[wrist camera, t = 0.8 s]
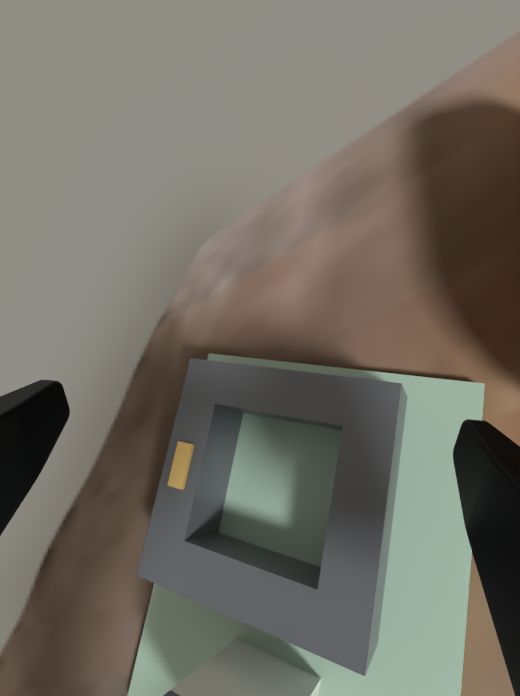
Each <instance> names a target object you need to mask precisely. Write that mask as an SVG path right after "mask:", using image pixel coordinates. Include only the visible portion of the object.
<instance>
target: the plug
mask: <svg viewBox="0 0 520 696" xmlns="http://www.w3.org/2000/svg"><path fill="white" fill-rule="evenodd" d="M320 682H321V678H320V677H318V676H315V675H313V674H311V673H309V672H307V671H305V670H303V669H300V668H298V667H296V666H294V665H292V664H290V663H288V662H285V661H283V660H281V659H279V658H277V657H275V656H273V655H270V654H268V653H266V652H264V651H262V650H260V649H258V648H255V647H253V646H251V645H249V644H247V643H245V642H243V641H240V640H238V639H235V640H234V641H232V642H231V643H230V644H228V645H227V646H226V647H225V648H223V649H222V650H221V651H220V652H218V653H217V654H216V655H214V656H213V657H212V658H211V659H209V660H208V661H207V662H205V663H204V664H203V665H202V666H200V667H199V668H198V669H197V670H195V671H194V672H193V673H191V674H190V675H189V676H188V677H186V678H185V679H184V680H182V681H181V682H180V683H179V684H177V685H176V686H175V687H174V688H172V689H171V690H170V691H168V692H167V693H166V694H165V695H163V696H319V689H320Z"/></svg>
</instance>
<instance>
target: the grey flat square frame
mask: <svg viewBox="0 0 520 696" xmlns="http://www.w3.org/2000/svg"><path fill="white" fill-rule="evenodd" d="M406 405H407V394H406V392H405V390H404V388H403V385H402V383H396V382H387V381H379V380H370V379H362V378H354V377H345V376H337V375H328V374H320V373H312V372H303V371H295V370H286V369H278V368H270V367H261V366H253V365H245V364H236V363H228V362H219V361H211V360H203V359H194V358H190V361H189V365H188V369H187V373H186V377H185V381H184V385H183V389H182V393H181V397H180V401H179V405H178V409H177V413H176V417H175V422H174V426H173V430H172V434H171V438H170V442H169V446H168V450H167V454H166V458H165V462H164V466H163V470H162V474H161V478H160V482H159V486H158V490H157V494H156V498H155V502H154V507H153V511H152V515H151V519H150V523H149V527H148V531H147V535H146V539H145V543H144V547H143V551H142V555H141V559H140V563H139V567H138V571H137V576H139V577H141V578H144V579H146V580H148V581H150V582H153V583H155V584H157V585H159V586H162V587H164V588H166V589H168V590H171V591H173V592H175V593H177V594H180V595H182V596H184V597H186V598H189V599H191V600H193V601H196V602H198V603H200V604H202V605H205V606H207V607H209V608H211V609H214V610H216V611H218V612H220V613H223V614H225V615H227V616H229V617H232V618H234V619H236V620H238V621H241V622H243V623H245V624H248V625H250V626H252V627H254V628H257V629H259V630H261V631H263V632H266V633H268V634H270V635H272V636H275V637H277V638H279V639H281V640H284V641H286V642H288V643H290V644H293V645H295V646H297V647H299V648H302V649H304V650H306V651H309V652H311V653H313V654H315V655H318V656H320V657H322V658H324V659H327V660H329V661H331V662H333V663H336V664H338V665H340V666H342V667H345V668H347V669H349V670H351V671H354V672H356V673H358V674H360V675H363V676H365V675H366V673H367V670H368V668H369V665H370V662H371V660H372V657H373V655H374V652H375V650H376V647H377V644H378V638H379V630H380V621H381V613H382V605H383V596H384V588H385V580H386V571H387V563H388V555H389V546H390V538H391V530H392V522H393V513H394V505H395V497H396V488H397V480H398V472H399V463H400V455H401V447H402V439H403V430H404V422H405V414H406ZM243 413H248V414H253V415H259V416H264V417H270V418H275V419H281V420H286V421H292V422H298V423H303V424H309V425H314V426H320V427H325V428H331V429H337V430H342V434H341V440H340V447H339V453H338V460H337V466H336V473H335V479H334V486H333V492H332V499H331V505H330V512H329V518H328V525H327V531H326V538H325V544H324V551H323V557H322V564H321V567H318V566H315V565H312V564H310V563H307V562H304V561H301V560H298V559H295V558H292V557H289V556H286V555H283V554H280V553H277V552H274V551H271V550H268V549H265V548H263V547H260V546H257V545H254V544H251V543H248V542H245V541H242V540H239V539H236V538H233V537H230V536H227V535H224V534H221V533H218V531H219V526H220V522H221V517H222V512H223V507H224V503H225V498H226V493H227V488H228V484H229V479H230V474H231V469H232V465H233V460H234V455H235V450H236V446H237V441H238V436H239V431H240V427H241V422H242V417H243Z"/></svg>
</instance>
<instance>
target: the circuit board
mask: <svg viewBox="0 0 520 696" xmlns="http://www.w3.org/2000/svg"><path fill="white" fill-rule="evenodd" d="M207 360H211V361H219V362H228V363H236V364H245V365H253V366H261V367H270V368H278V369H286V370H295V371H303V372H312V373H320V374H328V375H337V376H345V377H354V378H362V379H370V380H379V381H387V382H396V383H402V385H403V388H404V390H405V392H406V394H407V405H406V414H405V422H404V430H403V439H402V447H401V455H400V463H399V472H398V480H397V488H396V497H395V505H394V513H393V522H392V530H391V538H390V546H389V555H388V563H387V571H386V580H385V588H384V596H383V605H382V613H381V621H380V630H379V638H378V644H377V647H376V650H375V652H374V655H373V657H372V660H371V662H370V665H369V668H368V670H367V673H366V675H365V676H363V675H360V674H358V673H356V672H354V671H351V670H349V669H347V668H345V667H342V666H340V665H338V664H336V663H333V662H331V661H329V660H327V659H324V658H322V657H320V656H318V655H315V654H313V653H311V652H309V651H306V650H304V649H302V648H299V647H297V646H295V645H293V644H290V643H288V642H286V641H284V640H281V639H279V638H277V637H275V636H272V635H270V634H268V633H266V632H263V631H261V630H259V629H257V628H254V627H252V626H250V625H248V624H245V623H243V622H241V621H238V620H236V619H234V618H232V617H229V616H227V615H225V614H223V613H220V612H218V611H216V610H214V609H211V608H209V607H207V606H205V605H202V604H200V603H198V602H196V601H193V600H191V599H189V598H186V597H184V596H182V595H180V594H177V593H175V592H173V591H171V590H168V589H166V588H164V587H162V586H159V585H157V584H155V583H154V586H153V591H152V595H151V599H150V603H149V607H148V612H147V616H146V620H145V624H144V628H143V633H142V637H141V641H140V645H139V650H138V654H137V658H136V662H135V666H134V671H133V675H132V679H131V683H130V688H129V692H128V696H163V695H165V694H166V693H167V692H168V691H170V690H171V689H172V688H174V687H175V686H176V685H177V684H179V683H180V682H181V681H182V680H184V679H185V678H186V677H188V676H189V675H190V674H191V673H193V672H194V671H195V670H197V669H198V668H199V667H200V666H202V665H203V664H204V663H205V662H207V661H208V660H209V659H211V658H212V657H213V656H214V655H216V654H217V653H218V652H220V651H221V650H222V649H223V648H225V647H226V646H227V645H228V644H230V643H231V642H232V641H234V640H235V639H238V640H240V641H243V642H245V643H247V644H249V645H251V646H253V647H255V648H258V649H260V650H262V651H264V652H266V653H268V654H270V655H273V656H275V657H277V658H279V659H281V660H283V661H285V662H288V663H290V664H292V665H294V666H296V667H298V668H300V669H303V670H305V671H307V672H309V673H311V674H313V675H315V676H318V677H320V678H321V682H320V689H319V696H461V684H462V671H463V658H464V645H465V632H466V619H467V607H468V594H469V581H470V568H471V555H472V550H471V546H470V543H469V539H468V536H467V532H466V528H465V523H464V519H463V513H462V507H461V502H460V496H459V490H458V485H457V479H456V473H455V468H454V462H453V449H454V446H455V443H456V440H457V436H458V433H459V430H460V427H461V425H462V423H463V421H465V420H467V419H471V420H482V414H483V401H484V388H485V384H484V383H475V382H466V381H456V380H447V379H438V378H429V377H420V376H411V375H402V374H393V373H384V372H375V371H366V370H357V369H347V368H338V367H329V366H320V365H311V364H302V363H293V362H284V361H275V360H266V359H257V358H247V357H238V356H229V355H220V354H211V353H209V354H208V358H207ZM341 434H342V430H337V429H331V428H325V427H320V426H314V425H309V424H303V423H298V422H292V421H286V420H281V419H275V418H270V417H264V416H259V415H253V414H248V413H243V417H242V422H241V427H240V431H239V436H238V441H237V446H236V450H235V455H234V460H233V465H232V469H231V474H230V479H229V484H228V488H227V493H226V498H225V503H224V507H223V512H222V517H221V522H220V526H219V531H218V533H221V534H224V535H227V536H230V537H233V538H236V539H239V540H242V541H245V542H248V543H251V544H254V545H257V546H260V547H263V548H265V549H268V550H271V551H274V552H277V553H280V554H283V555H286V556H289V557H292V558H295V559H298V560H301V561H304V562H307V563H310V564H312V565H315V566H318V567H321V564H322V557H323V551H324V544H325V538H326V531H327V525H328V518H329V512H330V505H331V499H332V492H333V486H334V479H335V473H336V466H337V460H338V453H339V447H340V440H341Z"/></svg>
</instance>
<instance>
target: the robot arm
mask: <svg viewBox="0 0 520 696" xmlns="http://www.w3.org/2000/svg"><path fill="white" fill-rule="evenodd" d="M69 411H70V410H69V405H68V402H67V399H66V396H65V392H64V389H63V386H62V384H61V383H60V382H58V381H52V380H40V381H37V382H35V383H32V384H30V385H27V386H25V387H23V388H20V389H18V390H15V391H13V392H10V393H8V394H5V395H3V396H1V397H0V535H1V534H2V532H3V531H4V529H5V528H6V526H7V524H8V523H9V521H10V520H11V518H12V517H13V515H14V514H15V512H16V510H17V509H18V507H19V506H20V504H21V503H22V501H23V500H24V498H25V496H26V495H27V493H28V492H29V490H30V489H31V487H32V485H33V484H34V482H35V480H36V479H37V478H38V476H39V474H40V472H41V471H42V469H43V467H44V465H45V463H46V461H47V459H48V457H49V455H50V453H51V451H52V449H53V447H54V446H55V444H56V441H57V440H58V438H59V436H60V434H61V432H62V430H63V428H64V426H65V424H66V422H67V420H68V417H69V413H70V412H69ZM453 462H454V468H455V473H456V479H457V485H458V490H459V496H460V502H461V507H462V513H463V519H464V523H465V528H466V532H467V536H468V539H469V543H470V546H471V550H472V553H473V556H474V560H475V563H476V566H477V570H478V573H479V576H480V580H481V583H482V586H483V590H484V593H485V596H486V600H487V603H488V606H489V610H490V613H491V616H492V620H493V623H494V626H495V630H496V633H497V636H498V640H499V643H500V646H501V650H502V653H503V656H504V660H505V663H506V666H507V670H508V673H509V677H510V680H511V683H512V687H513V690H514V693H515V696H520V446H518V445H517V444H516V443H514V442H513V441H512V440H510V439H509V438H508V437H507V436H505V435H504V434H503V433H501V432H500V431H499V430H497V429H496V428H495V427H494V426H492V425H491V424H490V423H488V422H486V421H482V420H471V419H467V420H465V421H463V423H462V425H461V427H460V430H459V433H458V436H457V440H456V443H455V446H454V449H453Z"/></svg>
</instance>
